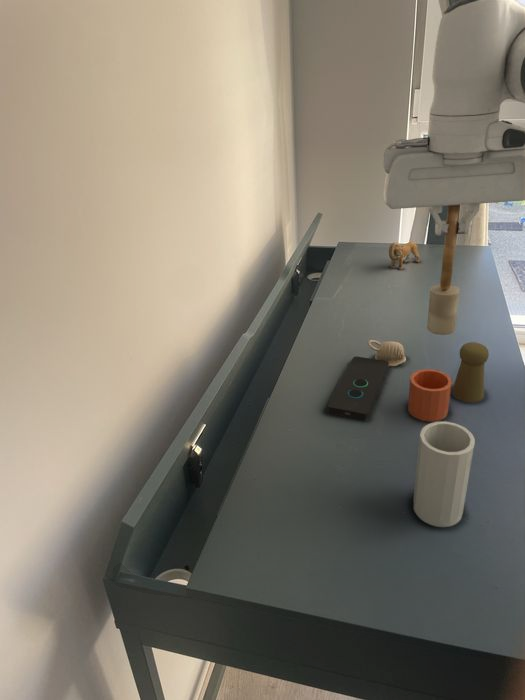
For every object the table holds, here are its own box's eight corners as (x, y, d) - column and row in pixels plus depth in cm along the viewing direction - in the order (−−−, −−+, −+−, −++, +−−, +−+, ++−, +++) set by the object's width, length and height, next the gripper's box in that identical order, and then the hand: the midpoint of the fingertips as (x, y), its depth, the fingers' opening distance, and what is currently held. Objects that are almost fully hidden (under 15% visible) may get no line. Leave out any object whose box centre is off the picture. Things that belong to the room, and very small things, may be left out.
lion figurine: (398, 274, 160) (399, 246, 156) (383, 270, 164) (384, 242, 159) (423, 260, 169) (425, 232, 165) (408, 256, 173) (410, 229, 168)
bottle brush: (451, 321, 89) (466, 189, 78) (458, 334, 85) (475, 196, 74) (424, 323, 89) (435, 191, 78) (430, 335, 85) (443, 198, 74)
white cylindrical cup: (455, 491, 83) (466, 420, 76) (468, 527, 77) (481, 454, 70) (409, 491, 84) (415, 422, 77) (418, 527, 78) (426, 455, 71)
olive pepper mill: (474, 383, 108) (481, 336, 103) (490, 399, 103) (498, 351, 98) (446, 387, 108) (452, 340, 102) (461, 404, 103) (468, 356, 97)
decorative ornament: (405, 367, 115) (407, 346, 113) (367, 364, 117) (367, 344, 115) (406, 358, 119) (407, 337, 116) (368, 355, 121) (369, 335, 118)
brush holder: (442, 398, 105) (446, 368, 101) (452, 421, 98) (456, 390, 95) (404, 399, 105) (407, 369, 102) (412, 422, 99) (414, 391, 96)
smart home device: (325, 405, 103) (353, 355, 118) (325, 412, 103) (353, 361, 119) (367, 413, 99) (390, 360, 115) (367, 421, 100) (390, 367, 116)
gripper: (388, 144, 70) (384, 244, 77) (547, 132, 68) (529, 236, 75) (380, 137, 75) (377, 231, 82) (528, 126, 74) (512, 223, 81)
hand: (451, 233), depth 79 cm, fingers closed on bottle brush
